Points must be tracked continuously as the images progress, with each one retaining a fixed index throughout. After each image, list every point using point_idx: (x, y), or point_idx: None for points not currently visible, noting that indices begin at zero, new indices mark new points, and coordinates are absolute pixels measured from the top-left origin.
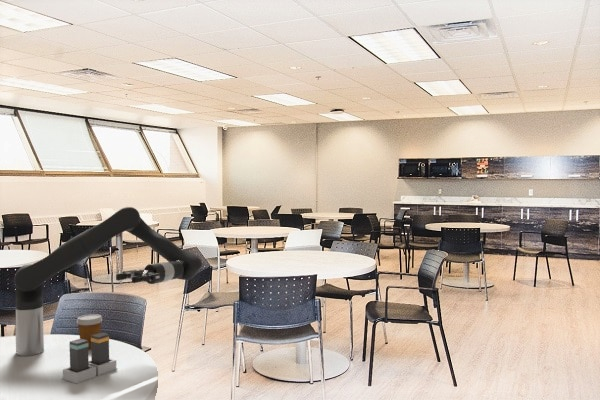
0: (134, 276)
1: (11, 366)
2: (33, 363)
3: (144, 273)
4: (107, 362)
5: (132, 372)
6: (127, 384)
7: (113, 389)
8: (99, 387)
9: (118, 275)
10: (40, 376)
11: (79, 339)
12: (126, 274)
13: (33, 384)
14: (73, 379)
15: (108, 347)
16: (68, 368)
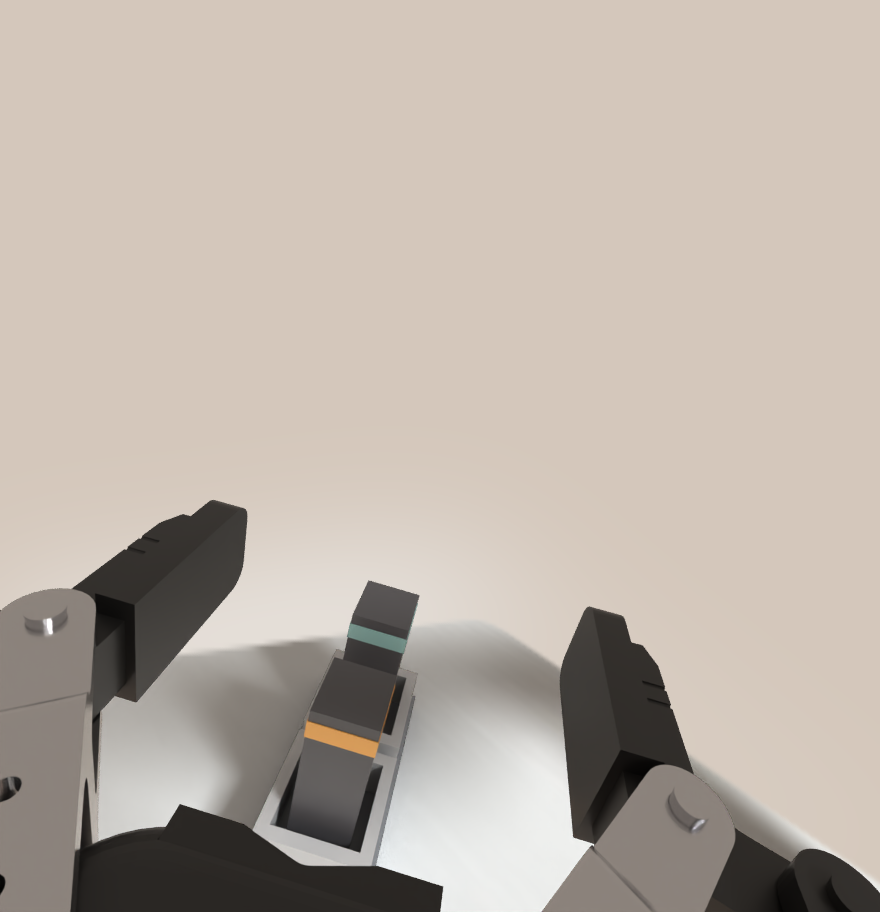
0: (216, 520)
1: (732, 800)
2: None
3: (24, 706)
4: (282, 785)
5: None
6: (121, 746)
7: (171, 692)
8: (239, 697)
9: (584, 624)
10: (532, 739)
11: (402, 620)
12: (622, 805)
13: (483, 679)
14: None
15: (300, 762)
16: (406, 686)
